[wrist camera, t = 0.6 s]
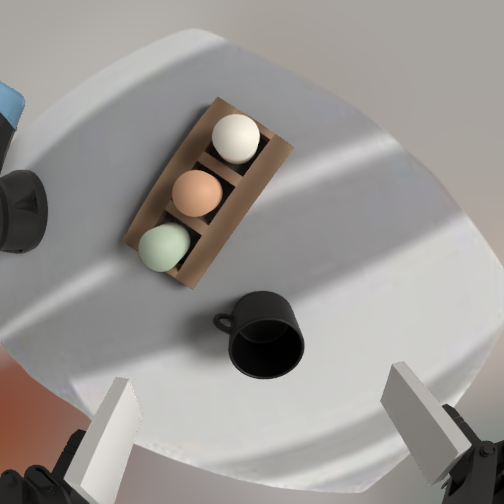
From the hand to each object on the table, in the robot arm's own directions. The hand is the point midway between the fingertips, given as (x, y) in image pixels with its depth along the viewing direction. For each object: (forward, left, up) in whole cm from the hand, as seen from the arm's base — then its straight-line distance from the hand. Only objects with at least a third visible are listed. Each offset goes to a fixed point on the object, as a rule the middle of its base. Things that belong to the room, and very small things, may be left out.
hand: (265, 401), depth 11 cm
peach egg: (-11, +4, -25) cm, 27 cm away
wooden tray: (-11, +4, -28) cm, 30 cm away
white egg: (-11, +12, -25) cm, 30 cm away
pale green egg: (-11, -3, -25) cm, 27 cm away
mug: (+5, -7, -28) cm, 29 cm away
